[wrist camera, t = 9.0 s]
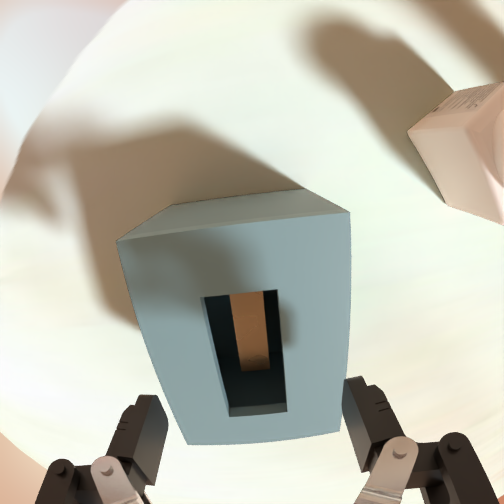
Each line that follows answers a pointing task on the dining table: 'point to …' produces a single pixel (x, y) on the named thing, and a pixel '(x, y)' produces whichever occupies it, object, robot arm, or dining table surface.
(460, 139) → the container
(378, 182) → the dining table surface
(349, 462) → the dining table surface
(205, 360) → the coin box
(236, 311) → the block
